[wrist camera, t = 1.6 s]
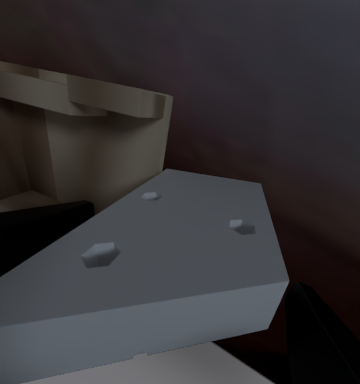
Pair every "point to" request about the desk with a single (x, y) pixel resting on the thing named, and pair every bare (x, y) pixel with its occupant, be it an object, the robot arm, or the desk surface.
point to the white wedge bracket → (144, 279)
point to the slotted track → (76, 138)
